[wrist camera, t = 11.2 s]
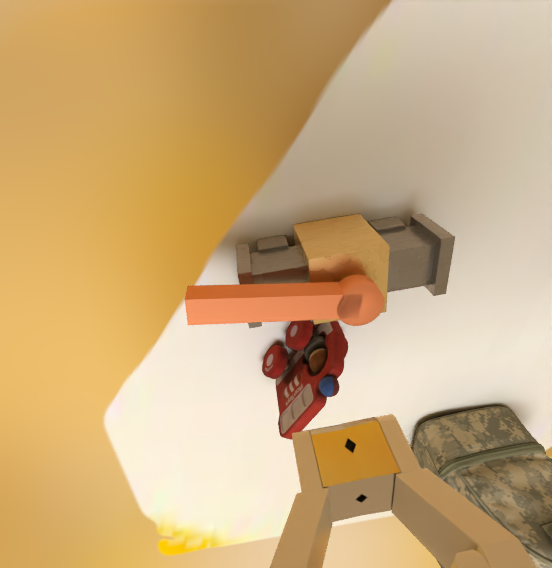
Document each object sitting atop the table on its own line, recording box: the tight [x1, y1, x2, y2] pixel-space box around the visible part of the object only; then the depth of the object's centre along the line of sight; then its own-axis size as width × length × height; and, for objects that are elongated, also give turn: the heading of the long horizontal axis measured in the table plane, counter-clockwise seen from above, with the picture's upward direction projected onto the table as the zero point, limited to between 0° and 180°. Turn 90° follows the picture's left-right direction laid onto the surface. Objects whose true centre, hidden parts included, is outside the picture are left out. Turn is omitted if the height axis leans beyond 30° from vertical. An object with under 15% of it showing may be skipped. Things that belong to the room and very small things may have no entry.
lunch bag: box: [412, 406, 552, 568], centre depth 53 cm, size 26×18×22 cm
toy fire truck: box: [262, 320, 348, 439], centre depth 40 cm, size 7×12×10 cm, turn 146°
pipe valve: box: [236, 214, 455, 328], centre depth 34 cm, size 19×7×9 cm, turn 97°
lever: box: [185, 275, 384, 326], centre depth 28 cm, size 16×4×2 cm, turn 87°
